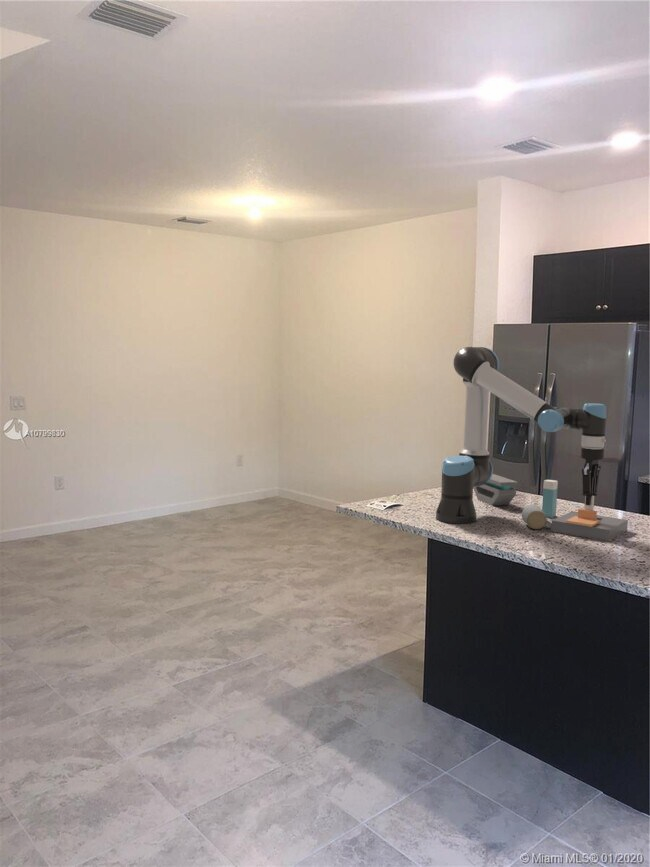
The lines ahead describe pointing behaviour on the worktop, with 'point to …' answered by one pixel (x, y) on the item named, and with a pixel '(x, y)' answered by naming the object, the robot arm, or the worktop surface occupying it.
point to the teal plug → (549, 497)
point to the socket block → (600, 531)
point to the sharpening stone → (496, 491)
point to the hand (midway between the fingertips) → (588, 513)
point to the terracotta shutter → (585, 518)
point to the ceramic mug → (535, 517)
